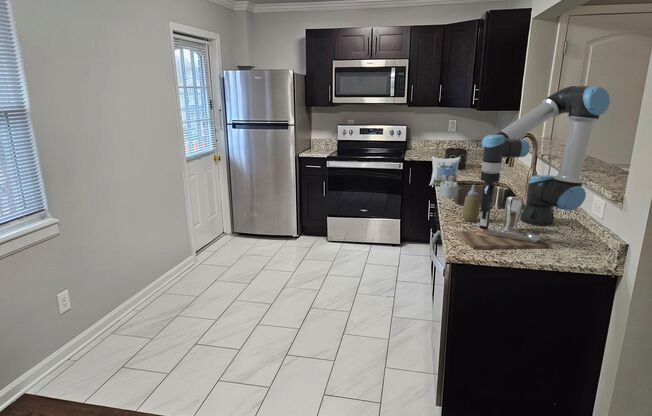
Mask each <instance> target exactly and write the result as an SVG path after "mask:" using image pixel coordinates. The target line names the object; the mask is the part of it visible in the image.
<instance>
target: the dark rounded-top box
mask: <svg viewBox="0 0 652 416" xmlns="http://www.w3.org/2000/svg"><path fill="white" fill-rule="evenodd" d="M444 152H445V153H444V159H450V158H458V157H461V158H460V160H459V164H458V169H457V171H459V170H465V168H467V161H468V154H469V153H468V150H467V149H466V148H462V147H459V148H458V147H456V148H455V147H448V148H446V149H445V151H444Z"/></svg>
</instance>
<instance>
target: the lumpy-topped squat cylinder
mask: <svg viewBox="0 0 652 416" xmlns="http://www.w3.org/2000/svg"><path fill="white" fill-rule="evenodd" d="M458 188H459V184H458V182H457V183H456V182H454V181H445V182H444V181H442V182H441V184H439V197H441V198H444V199H456V198H458V191H459V189H458Z"/></svg>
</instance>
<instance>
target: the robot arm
mask: <svg viewBox="0 0 652 416" xmlns="http://www.w3.org/2000/svg"><path fill="white" fill-rule="evenodd" d="M610 98H611V97H610V94H609V92H608V91H607V89H606V88H604V87H603V86H597V85H584V86H583V85H578V86H577V85H571V86H567V87H564V88H562V89H560V90H558V91H556V92H554V93H552V94H550V95H549V96H547V97H546V98H545V99H543V100H542V101H541V103H540V104H539V105H538V106H536V107H535V108H533V109H531V110H530V111H528V112H527V113H526V114H524V115H523V116H521V117H519V118H518V119H517V120H515V121H513V122H512V123H511V124H509V125H508V126H506V127H505V128H503V129H502V130H499V132H497V133H495V134H487V135H486V136H484V138H483V139H482V140H481V148H482V149H483V153H482V162H481V163H480V166H481V172H480V181H482V182H484V184H483V187H482V195H481V196H482V197H481V206H480V209H479V212H480V218H481V219H479V226H480V225H481V226H487V218H488V207H489V201H490V202H491V209H490V210H492V209H493V207H492V206H493V197H494V196H493V195H494V189H495V187H496V186H495V184H494V183H498V182H500V178H501V177H500V176H501V173H500V172H501V170H502V169H501V168H502V162H503V159H504V158H517V159H518V158H524V157H527V156H528V154H529V152H530V148H531V147H530V143H529V141H527V140H526V139H520V138H522V137H523V136H525V135H527V134H528V133H529V132H532V131H533V130H534V129H536V128H538V127H539V126H540V125H542V124H543V123H545V122H546V121H548V120H549V119H551V118H557V117H558V116H559V115H563V114H568V115H567V118H568V119H569V120H570V122H569V123H570V124H569V127H568V132H567V135H566V136H567V137H566V141H565V144H564V145H565V146H564V149H563V153H562V157H561V162H560V167H559V169H558V174H557V175H547V174H546V175H539V174H537V175H533V176H531V177H530V178H529V182H528V189H527V193H526V194H527V195H526V196H527V197H526V203H525V206H524V208H523V210H521V214H520V217H519V220H520V221H521V222H523V223H525V224H528V225H529V224H530V225H533V226H542V227H543V226H545V227H546V226H552V225H554V223H555V215H554V210H553V207H556V208H558V209H560V210H565V211H567V212H568V211H574V210H576V209H578V208H579V207H581V206H582V205H583V204H584V202H585V201H586V197H587V195H586V194H587V192H586V190H585V188H584V187H583V182H584V181H583V180H582V179H581V173H582V170H583V166H584V162H585V158H586V154H587V151H588V146H589V142H590V139H591V138H590V137H591V135H592V130H593V127H594V123H596V122H598V120H600V116H601V115H603V114H605V112H606V111H607V110H608V109H609V107H610V103H611V99H610Z"/></svg>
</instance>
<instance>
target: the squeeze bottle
mask: <svg viewBox="0 0 652 416" xmlns="http://www.w3.org/2000/svg"><path fill="white" fill-rule="evenodd" d="M480 199H481V198H480V197H479V192H478V191H477V188H476V184H472V186H471V189H470V190H469V191H468V192H467V195H466V196H465V199H464V203H463V207H462V217H463V220H464V221H466V222H471V223H473V222H477V220H478V218H479V215H480V202H481V201H480Z"/></svg>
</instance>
